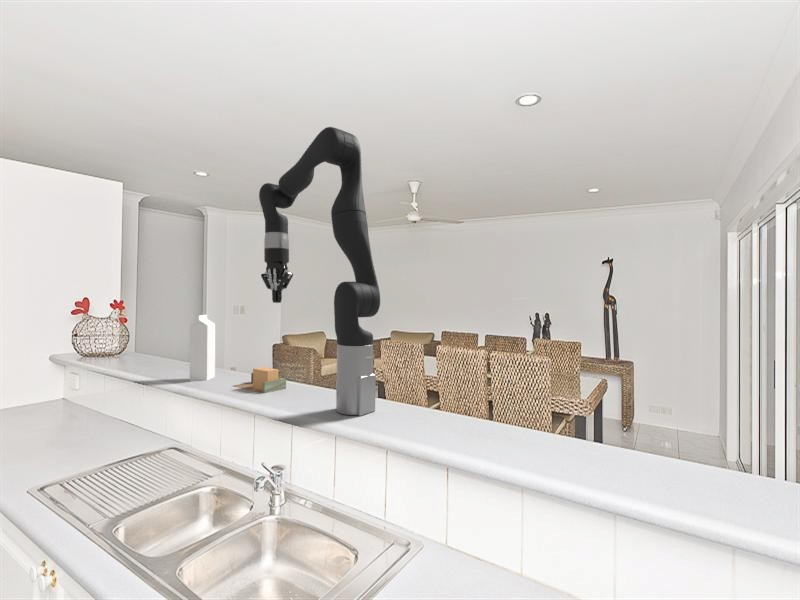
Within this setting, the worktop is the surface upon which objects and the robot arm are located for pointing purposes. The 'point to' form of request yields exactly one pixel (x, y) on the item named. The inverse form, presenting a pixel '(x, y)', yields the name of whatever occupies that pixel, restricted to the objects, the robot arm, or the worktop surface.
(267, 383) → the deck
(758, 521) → the worktop surface
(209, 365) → the milk
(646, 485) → the worktop surface
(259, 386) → the block
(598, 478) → the worktop surface
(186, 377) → the worktop surface
